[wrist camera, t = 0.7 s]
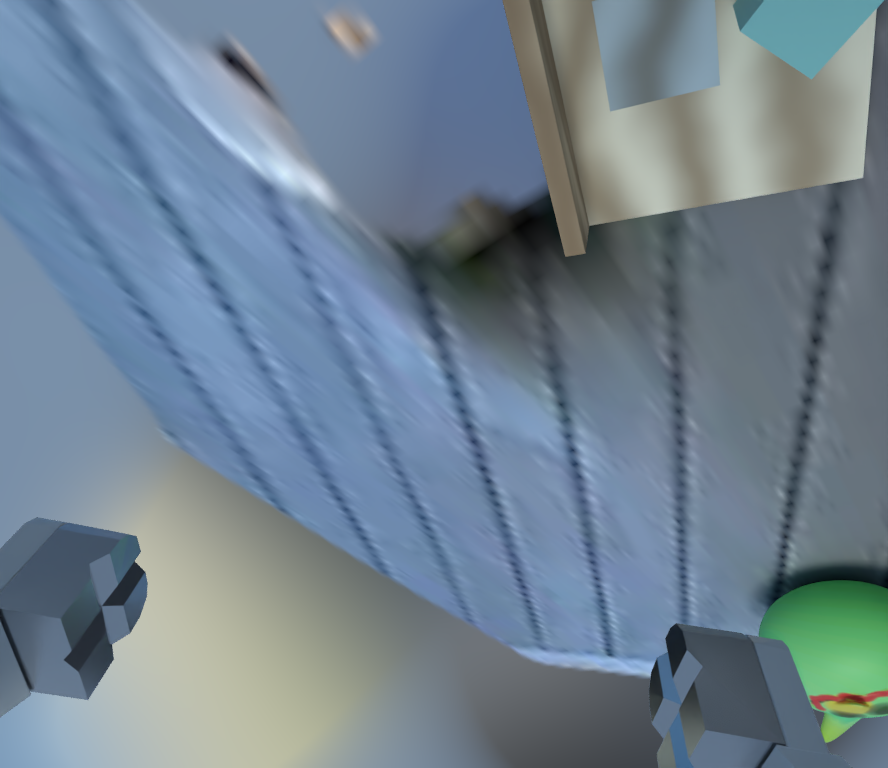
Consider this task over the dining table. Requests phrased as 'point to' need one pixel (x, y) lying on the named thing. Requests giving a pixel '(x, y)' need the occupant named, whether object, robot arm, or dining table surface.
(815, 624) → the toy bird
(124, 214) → the dining table surface
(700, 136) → the arena
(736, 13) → the cube
